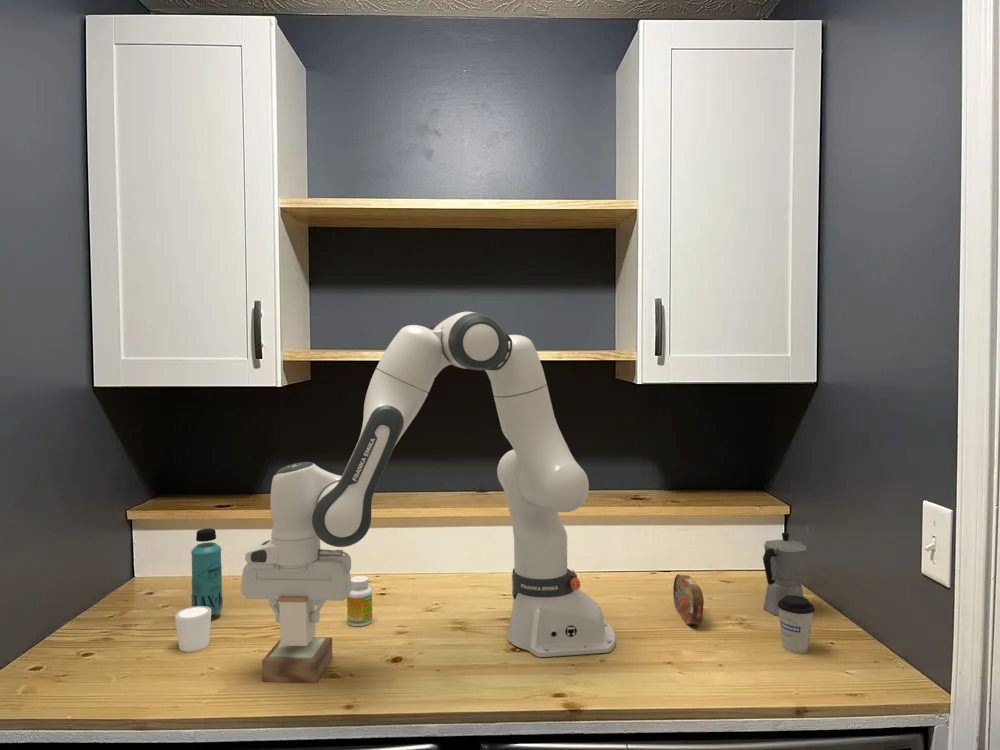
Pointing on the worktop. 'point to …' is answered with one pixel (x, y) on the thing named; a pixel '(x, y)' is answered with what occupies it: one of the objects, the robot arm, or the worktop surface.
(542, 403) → the robot arm
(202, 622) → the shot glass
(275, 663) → the base
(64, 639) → the worktop surface
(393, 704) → the worktop surface
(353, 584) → the supplement bottle
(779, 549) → the coffeepot
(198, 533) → the beverage bottle
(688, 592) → the tin
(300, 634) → the two-tone lidded box
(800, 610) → the coffee cup
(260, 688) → the worktop surface
